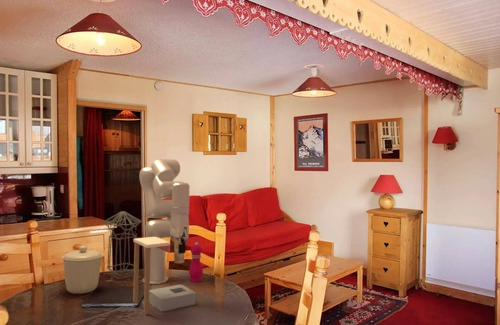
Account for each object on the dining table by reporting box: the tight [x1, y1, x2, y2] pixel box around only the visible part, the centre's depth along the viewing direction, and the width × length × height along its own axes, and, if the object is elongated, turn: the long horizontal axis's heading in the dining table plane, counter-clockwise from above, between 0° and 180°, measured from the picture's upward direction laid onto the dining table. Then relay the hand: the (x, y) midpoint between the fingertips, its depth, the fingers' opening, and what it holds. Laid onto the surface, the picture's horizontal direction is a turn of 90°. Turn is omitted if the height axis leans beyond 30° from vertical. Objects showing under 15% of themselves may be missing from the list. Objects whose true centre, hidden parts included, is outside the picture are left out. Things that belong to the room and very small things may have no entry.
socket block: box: [149, 284, 197, 313], centre depth 172 cm, size 14×16×5 cm
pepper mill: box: [188, 241, 204, 283], centre depth 206 cm, size 7×7×20 cm
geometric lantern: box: [103, 210, 143, 280], centre depth 211 cm, size 16×16×35 cm
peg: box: [173, 235, 185, 264], centre depth 174 cm, size 4×4×12 cm
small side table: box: [132, 237, 171, 316], centre depth 166 cm, size 15×10×28 cm, turn 37°
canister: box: [61, 245, 104, 295], centre depth 186 cm, size 18×18×21 cm
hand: (179, 251), depth 174 cm, fingers closed on peg, 4 cm apart
